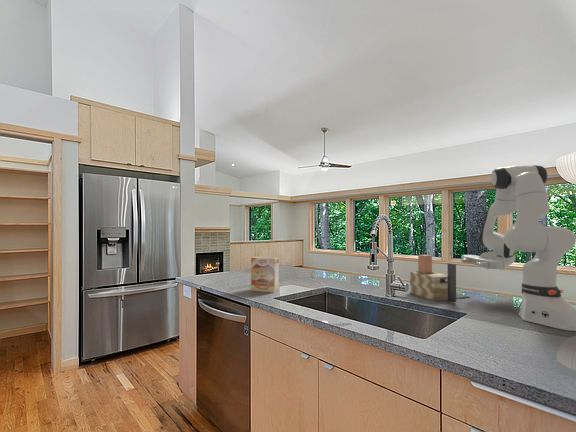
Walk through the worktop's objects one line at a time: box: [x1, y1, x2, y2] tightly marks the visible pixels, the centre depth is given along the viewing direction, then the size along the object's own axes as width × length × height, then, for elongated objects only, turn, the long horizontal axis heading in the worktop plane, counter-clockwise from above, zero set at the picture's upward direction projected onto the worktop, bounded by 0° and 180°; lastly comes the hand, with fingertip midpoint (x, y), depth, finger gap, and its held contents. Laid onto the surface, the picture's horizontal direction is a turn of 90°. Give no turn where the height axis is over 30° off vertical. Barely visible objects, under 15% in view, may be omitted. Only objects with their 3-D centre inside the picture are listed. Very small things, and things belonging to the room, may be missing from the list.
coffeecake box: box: [250, 256, 280, 294], centre depth 183 cm, size 15×7×20 cm, turn 71°
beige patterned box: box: [409, 270, 448, 301], centre depth 172 cm, size 18×12×13 cm, turn 18°
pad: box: [456, 292, 470, 300], centre depth 171 cm, size 9×9×1 cm
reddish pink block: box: [417, 254, 433, 273], centre depth 176 cm, size 5×5×10 cm
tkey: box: [442, 262, 457, 303], centre depth 160 cm, size 8×2×19 cm, turn 18°
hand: (470, 262), depth 162 cm, fingers open, 8 cm apart
